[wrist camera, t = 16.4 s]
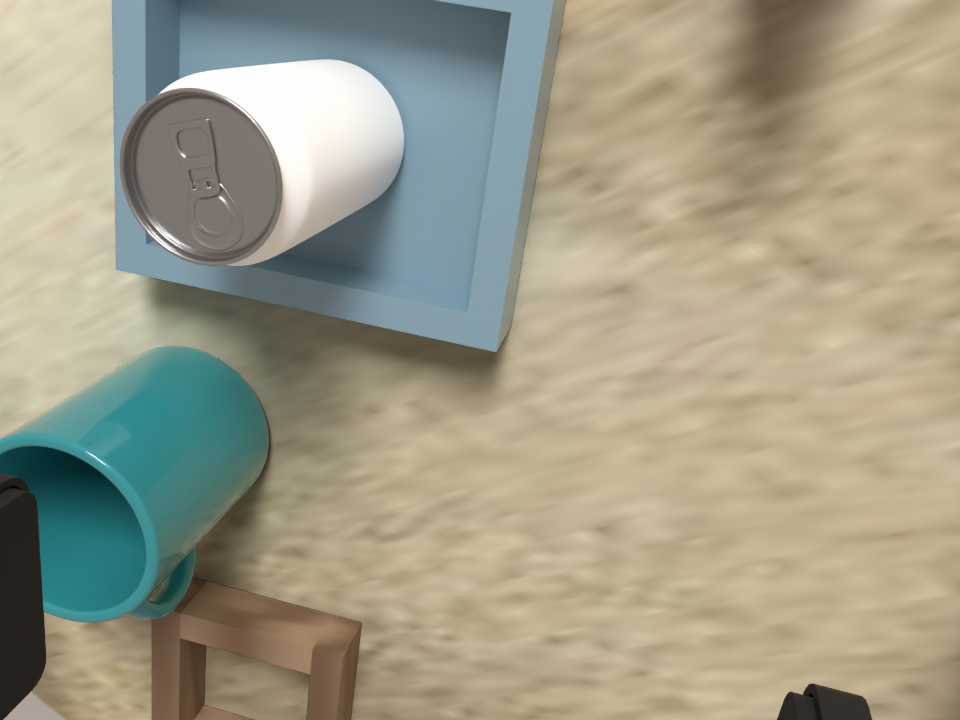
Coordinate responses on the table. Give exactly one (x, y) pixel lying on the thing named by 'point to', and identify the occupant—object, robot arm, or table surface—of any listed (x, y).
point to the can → (258, 157)
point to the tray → (425, 163)
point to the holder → (250, 650)
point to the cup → (136, 480)
